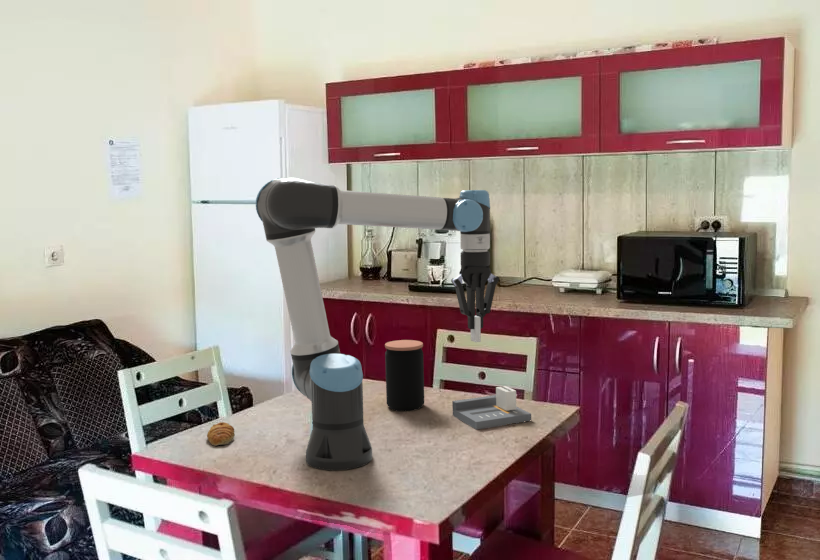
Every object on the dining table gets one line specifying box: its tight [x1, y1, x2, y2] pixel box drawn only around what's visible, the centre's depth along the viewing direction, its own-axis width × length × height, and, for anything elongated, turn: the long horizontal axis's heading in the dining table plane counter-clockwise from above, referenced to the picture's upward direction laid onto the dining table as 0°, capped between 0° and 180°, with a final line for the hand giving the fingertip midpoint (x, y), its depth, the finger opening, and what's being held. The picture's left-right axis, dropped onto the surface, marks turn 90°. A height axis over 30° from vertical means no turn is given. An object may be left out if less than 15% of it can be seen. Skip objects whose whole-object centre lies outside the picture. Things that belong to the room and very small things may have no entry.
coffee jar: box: [384, 339, 425, 412], centre depth 229 cm, size 11×11×18 cm
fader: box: [495, 385, 517, 411], centre depth 218 cm, size 3×6×5 cm, turn 22°
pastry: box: [206, 421, 235, 447], centre depth 203 cm, size 9×7×4 cm
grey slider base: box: [452, 394, 532, 431], centre depth 216 cm, size 16×14×4 cm
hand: (475, 341), depth 212 cm, fingers closed
